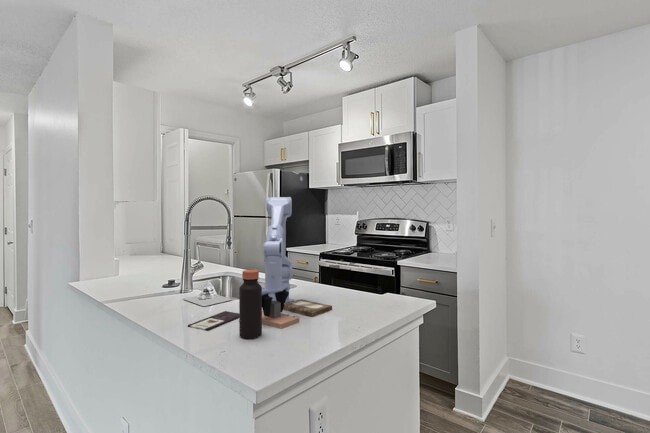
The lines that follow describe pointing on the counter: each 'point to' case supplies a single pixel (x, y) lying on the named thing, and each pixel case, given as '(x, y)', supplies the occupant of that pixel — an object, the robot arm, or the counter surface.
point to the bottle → (250, 305)
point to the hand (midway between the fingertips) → (273, 313)
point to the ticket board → (307, 307)
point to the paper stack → (208, 300)
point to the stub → (278, 317)
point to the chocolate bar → (215, 321)
